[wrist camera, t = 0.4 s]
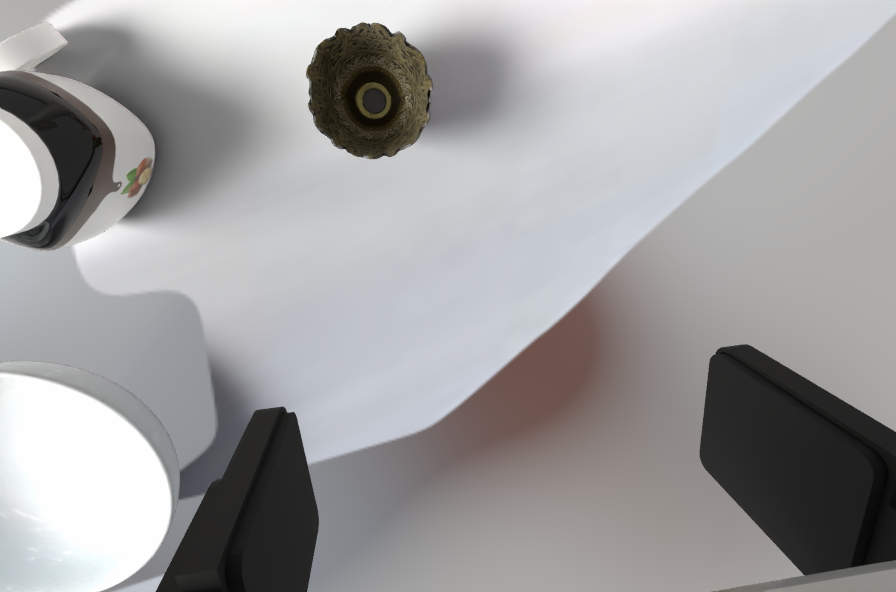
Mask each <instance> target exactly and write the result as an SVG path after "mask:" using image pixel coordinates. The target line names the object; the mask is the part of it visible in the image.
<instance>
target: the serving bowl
mask: <svg viewBox="0 0 896 592" xmlns="http://www.w3.org/2000/svg"><path fill="white" fill-rule="evenodd" d="M179 488H180V472H179V465H178V459H177V455H176V452H175V448H174V446H173V444H172V441H171V439H170V437H169V435H168V433H167V431H166V429H165V428H164V426H163V425H162V423H161V422H160V421H159V419H158V418H157V417H156V415H154V414H153V412H152V411H151V410H150V409H149V408H148V407H147V406H146V405H145V404H144V403H143V402H142V401H141V400H139V399H138V398H137V397H135V396H134V395H133V394H132V393H130V392H129V391H127V390H126V389H124V388H123V387H121V386H119V385H118V384H116V383H114V382H112V381H110V380H108V379H106V378H104V377H101V376H99V375H97V374H94V373H91V372H88V371H85V370H82V369H79V368H75V367H71V366H67V365H62V364H56V363H48V362H37V361H11V362H0V592H100V591H103V590H105V589H108V588H110V587H112V586H114V585H116V584H118V583H120V582H122V581H124V580H126V579H127V578H129V577H130V576H132V575H133V574H134V573H136V572H137V571H138V570H140V569H141V568H142V567H143V566H144V565H145V564H146V563H147V562H148V561H149V560H150V559H151V558H152V557H153V556H154V554H155V553H156V552H157V551H158V549H159V548H160V546H161V545H162V543H163V542H164V540H165V538H166V536H167V534H168V531H169V529H170V526H171V523H172V520H173V517H174V514H175V511H176V507H177V502H178V496H179Z"/></svg>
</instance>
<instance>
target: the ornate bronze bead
mask: <svg viewBox="0 0 896 592" xmlns="http://www.w3.org/2000/svg"><path fill="white" fill-rule="evenodd" d="M306 76H307V78H308V79H309V81H310V87H309V95H310V101H309V103H308V107H309V110H310V112H311V113H312V114H313V119H314V124H315V126H316V127H317V129H318V130H319V131H320V132H321V133H322V134H324V135H325V136H327V137H328V138H329V139H330V140H331V141H332V144H333V145H334V146H335V147H337V148H339V149H346V151H347V152H348V153H351V154H352V155H354V156H357V157H365V158H367V159H377V158H380V157H382V156H388V157H392V156H394V155H396V153H397V152H398V151H400V150H403V149H405V148H408V147H409V146H411V145H412V144H414V143H415V142H416V141H417V139H418V138H419V136H420V134H421V132H422V130H423V128H424V127H425V126H426V125H427V123H428V121H429V119H430V113H429V107H430V103H431V99H430V97H431V94H430V93H431V90H432V89H433V85H432V79H431V77H430V75H429V74H428V70H427V65H426V62H425V59H424V57H423V55H422V54H421V52H420V51H419V50H418V49H417V48H415V47H414V46H412V45H411V44H409V43H408V42H407V41H406V38H405V36H404V35H403V34H402V33H401V32H396V33H393V34H392V33H391V32H390V31H389V29H387V27H386V26H384V25H382V24H379V23H372V24H371V25H370V24H366V23H363V22H362V23H360V24H358V25H356V26H352V28H351V29H350V30H349V29H347V28H339V29H338V30H337V31H336V33H335V35H334V36H333V37H331V38H329V39H325V40H324V41H323V42H321V43H320V44H319V45H318V46H317V48H316V49H315V52H314V55H313V58H312V62H311V64H310V65H309V66H308V68H307V72H306ZM371 89H376V90H379V91H380V92H382V94H383V95H384V97H385V106H384V108H383V109H382V110H381V111H380V112H377V113H372V112H370V111H368V110H367V109H366V108H365V106H364V103H363V97H364V95H365V93H366V92H367V91H369V90H371Z"/></svg>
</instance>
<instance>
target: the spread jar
mask: <svg viewBox="0 0 896 592" xmlns="http://www.w3.org/2000/svg"><path fill="white" fill-rule="evenodd" d="M67 44H68V42H67V41H66V40H65V38H64V37H63V36H62V35H61V34H60V33H59V32H58V31H57V30H56V29H55V28H54V26H53V25H52V24H51V23H50V22H49V21H48V22H43V23H40V24H38V25H35V26H33V27H31V28H28V29H26V30H24V31H23V32H20V33H18V34H16V35H14V36H12V37H10V38H9V39H6V40H5V41H3V42H1V43H0V240H2V241H5V242H8V243H11V244H14V245H17V246H20V247H23V248H26V249H32V250H40V251H50V250H56V249H61V248H65V247H68V246H71V245H74V244H77V243H79V242H82V241H85V240H88V239H90V238H93V237H95V236H97V235H99V234H100V233H102V232H105V231H106V230H108V229H109V228H110V227H112V226H113V225H115V224H116V223H117V222H119V221H120V220H121V219H122V218H123V217H124V216H125V215H126V214H127V213H128V212H129V211H130V210H131V209H132V208H133V207H134V206H135V205H136V204H137V202H138V201H139V200H140V199H141V197H142V196H143V194H144V193H145V191H146V189H147V187H148V185H149V183H150V181H151V178H152V174H153V170H154V165H155V155H156V154H155V145H154V140H153V137H152V135H151V133H150V132H149V130H148V129H147V127H146V126H145V125H144V124H143V123H142V122H141V121H140V120H139V119H138V118H137V117H136V116H135V115H134V114H133V113H132V112H130V111H129V110H128V109H127V108H125V107H124V106H123V105H121V104H120V103H119V102H117V101H116V100H114V99H112V98H111V97H109V96H107V95H106V94H104V93H102V92H100V91H98V90H96V89H94V88H92V87H90V86H88V85H86V84H83V83H81V82H78V81H75V80H72V79H69V78H66V77H62V76H57V75H52V74H46V73H40V72H31V71H28V70H30V69H31V68H33V67H35V66H36V65H38V64H39V63H41V62H43V61H44V60H46V59H47V58H49V57H50V56H52V55H53V54H55V53H56V52H58V51H59V50H61V49H62V48H63V47H65V46H66V45H67Z"/></svg>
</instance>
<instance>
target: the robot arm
mask: <svg viewBox="0 0 896 592" xmlns="http://www.w3.org/2000/svg"><path fill="white" fill-rule="evenodd" d="M700 459H701V462H702V464H703V466H704V468H705V469H706V470H707V471H708V473H709V474H710V475H711V476H712V477H713V478H714V479H715V480H716V481H717V482H718V483H719V484H720V485H721V486H722V487H723V488H724V490H725V491H726V492H727V493H728V494H729V495H730V496H731V497H732V498H733V499H734V500H735V501H736V502H737V504H738V505H739V506H740V507H741V508H742V509H743V510H744V511H745V512H746V513H747V514H748V515H749V516H750V517H751V519H752V520H753V521H754V522H755V523H756V524H757V525H758V526H759V527H760V528H761V529H762V530H763V531H764V532H765V533H766V535H767V536H768V537H769V538H770V539H771V540H772V541H773V542H774V543H775V544H776V545H777V546H778V547H779V548H780V549H781V551H782V552H783V553H784V554H785V555H786V556H787V557H788V558H789V559H790V560H791V561H792V563H793V564H794V565H795V566H796V567H797V568H798V569H799V570H800V571H801V572H802V573H803V574H804V575H805V576H800V577H794V578H788V579H782V580H776V581H770V582H765V583H759V584H753V585H747V586H741V587H736V588H730V589H725V590H719V591H713V592H896V432H895V431H893V430H891V429H890V428H888V427H886V426H885V425H883V424H881V423H880V422H878V421H876V420H874V419H873V418H871V417H870V416H868V415H866V414H864V413H863V412H861V411H859V410H858V409H856V408H854V407H853V406H851V405H849V404H848V403H846V402H844V401H843V400H841V399H839V398H838V397H836V396H834V395H832V394H831V393H829V392H827V391H826V390H824V389H822V388H821V387H819V386H817V385H816V384H814V383H812V382H811V381H809V380H807V379H806V378H804V377H802V376H801V375H799V374H797V373H796V372H794V371H792V370H790V369H789V368H787V367H785V366H783V365H782V364H780V363H779V362H777V361H775V360H773V359H772V358H770V357H769V356H767V355H765V354H764V353H762V352H760V351H758V350H757V349H755V348H753V347H752V346H750V345H737V346H729V347H722V348H720V349H718V350H717V352H716V354H715V355H713V356H712V357H711V359H710V363H709V372H708V382H707V390H706V399H705V408H704V417H703V426H702V435H701V444H700ZM318 526H319V517H318V510H317V505H316V501H315V496H314V492H313V487H312V483H311V479H310V474H309V470H308V465H307V461H306V456H305V452H304V447H303V443H302V439H301V434H300V430H299V425H298V421H297V417H296V414H295V413H294V412H291V413H287V411H286V409H285V408H284V407H277V408H269V409H262V410H256V411H255V412H254V414H253V416H252V418H251V420H250V422H249V424H248V426H247V428H246V430H245V432H244V434H243V436H242V438H241V441H240V443H239V445H238V447H237V449H236V451H235V453H234V455H233V457H232V459H231V461H230V463H229V465H228V467H227V469H226V471H225V474H224V476H223V478H222V479H218V480H216V481H214V482H212V484H211V485H210V487H209V488H208V490H207V492H206V494H205V496H204V498H203V500H202V502H201V504H200V506H199V508H198V510H197V512H196V514H195V516H194V518H193V520H192V522H191V524H190V526H189V527H188V529H187V531H186V533H185V536H184V538H183V539H182V541H181V543H180V545H179V547H178V549H177V551H176V553H175V555H174V557H173V559H172V561H171V563H170V565H169V567H168V569H167V571H166V573H165V575H164V577H163V579H162V580H161V582H160V584H159V586H158V588H157V590H156V592H307V589H308V583H309V578H310V572H311V567H312V561H313V556H314V550H315V544H316V539H317V534H318Z"/></svg>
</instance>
